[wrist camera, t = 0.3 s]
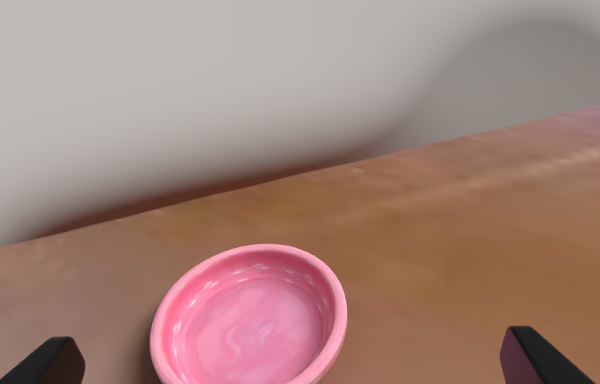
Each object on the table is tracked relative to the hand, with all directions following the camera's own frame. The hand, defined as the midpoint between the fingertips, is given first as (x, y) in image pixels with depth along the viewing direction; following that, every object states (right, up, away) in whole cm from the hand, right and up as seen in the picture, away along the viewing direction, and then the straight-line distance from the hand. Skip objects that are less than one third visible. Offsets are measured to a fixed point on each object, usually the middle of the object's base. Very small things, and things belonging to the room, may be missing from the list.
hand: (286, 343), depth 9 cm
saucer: (-3, -7, +21) cm, 22 cm away
